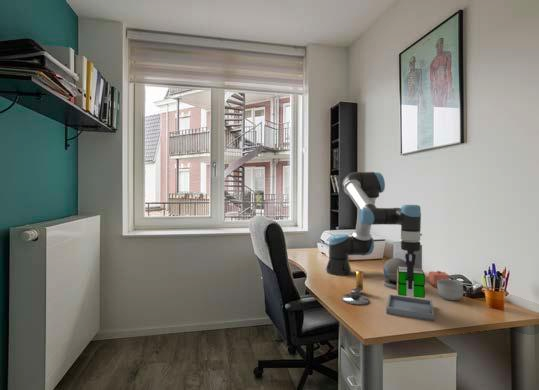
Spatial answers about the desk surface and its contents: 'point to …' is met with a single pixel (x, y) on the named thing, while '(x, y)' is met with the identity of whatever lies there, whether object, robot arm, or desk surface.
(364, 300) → the crank base
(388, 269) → the webcam
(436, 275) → the pink cube teapot
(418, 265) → the hard drive box
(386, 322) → the desk surface
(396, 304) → the tray
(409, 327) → the desk surface
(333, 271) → the robot arm
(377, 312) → the desk surface
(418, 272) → the puzzle cube
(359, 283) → the crank lever
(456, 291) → the teacup
